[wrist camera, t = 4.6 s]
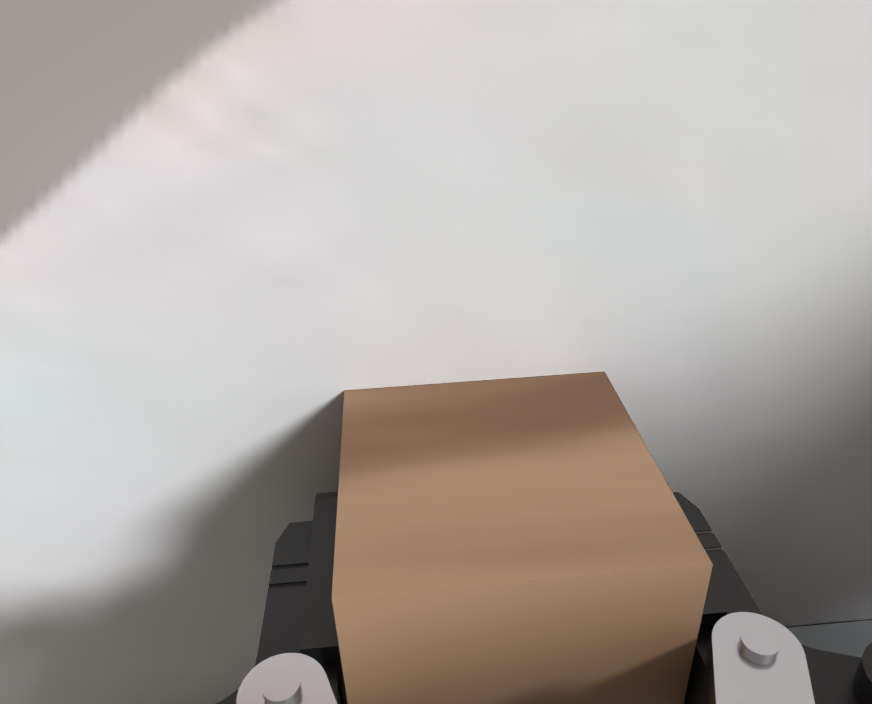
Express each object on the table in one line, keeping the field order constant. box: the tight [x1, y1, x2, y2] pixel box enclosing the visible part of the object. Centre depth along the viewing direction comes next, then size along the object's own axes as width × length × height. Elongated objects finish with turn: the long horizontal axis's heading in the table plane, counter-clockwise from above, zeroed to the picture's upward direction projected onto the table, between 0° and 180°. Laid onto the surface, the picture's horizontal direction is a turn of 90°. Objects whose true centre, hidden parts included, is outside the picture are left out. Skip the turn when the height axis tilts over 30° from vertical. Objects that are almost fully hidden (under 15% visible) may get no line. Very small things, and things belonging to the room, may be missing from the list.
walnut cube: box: [332, 372, 713, 704], centre depth 13 cm, size 5×5×5 cm
